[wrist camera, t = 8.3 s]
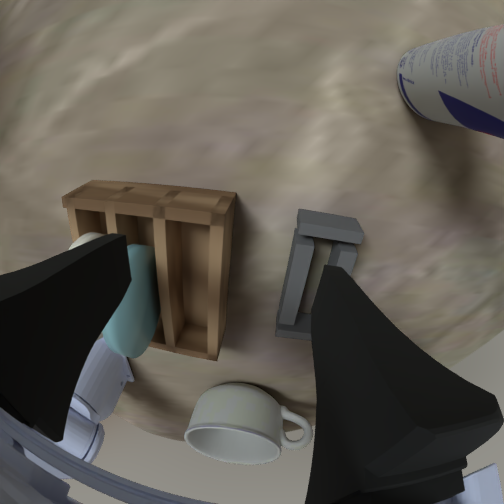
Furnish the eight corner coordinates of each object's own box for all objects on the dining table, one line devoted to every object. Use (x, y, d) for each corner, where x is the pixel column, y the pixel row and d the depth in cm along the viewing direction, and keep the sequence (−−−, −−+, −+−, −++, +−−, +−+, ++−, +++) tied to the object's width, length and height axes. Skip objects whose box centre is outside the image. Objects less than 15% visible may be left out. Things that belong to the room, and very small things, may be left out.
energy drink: (440, 135, 15) (568, 191, 5) (382, 89, 14) (508, 86, 4) (467, 81, 12) (593, 98, 2) (412, 33, 12) (531, -6, 1)
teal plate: (169, 293, 24) (140, 374, 18) (157, 290, 24) (126, 370, 18) (154, 222, 18) (102, 319, 13) (139, 220, 18) (85, 313, 13)
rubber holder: (323, 322, 24) (325, 342, 22) (276, 316, 24) (275, 336, 22) (356, 218, 19) (364, 233, 17) (298, 208, 19) (300, 222, 17)
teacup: (206, 410, 35) (194, 458, 28) (190, 365, 29) (171, 425, 22) (306, 416, 33) (305, 467, 26) (316, 372, 28) (319, 437, 21)
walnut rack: (225, 328, 26) (217, 361, 22) (112, 304, 26) (94, 330, 23) (236, 192, 19) (224, 214, 16) (92, 180, 20) (61, 197, 16)
